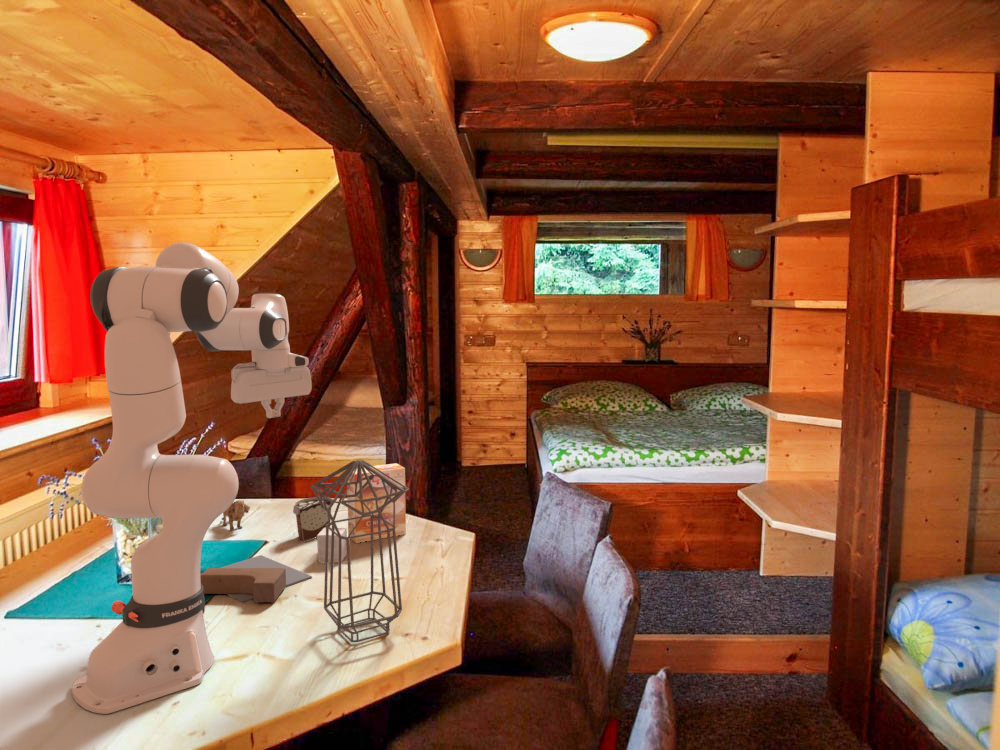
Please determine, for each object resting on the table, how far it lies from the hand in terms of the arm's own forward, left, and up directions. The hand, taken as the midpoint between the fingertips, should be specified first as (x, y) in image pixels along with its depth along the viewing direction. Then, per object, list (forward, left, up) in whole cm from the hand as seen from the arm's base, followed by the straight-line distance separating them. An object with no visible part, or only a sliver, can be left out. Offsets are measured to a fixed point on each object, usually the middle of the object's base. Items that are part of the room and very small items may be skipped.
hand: (273, 417), depth 172 cm
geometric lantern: (-9, -43, -38) cm, 58 cm away
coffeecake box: (+31, -1, -38) cm, 49 cm away
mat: (-8, -1, -38) cm, 39 cm away
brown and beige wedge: (+19, +14, -38) cm, 45 cm away
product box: (+12, -6, -38) cm, 40 cm away
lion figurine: (+9, +38, -38) cm, 54 cm away
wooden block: (-10, -16, -35) cm, 40 cm away
